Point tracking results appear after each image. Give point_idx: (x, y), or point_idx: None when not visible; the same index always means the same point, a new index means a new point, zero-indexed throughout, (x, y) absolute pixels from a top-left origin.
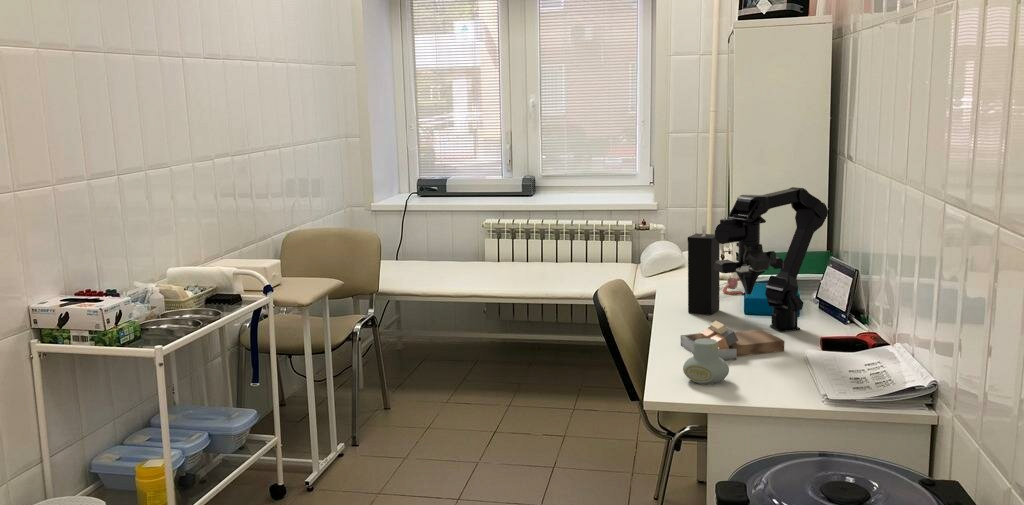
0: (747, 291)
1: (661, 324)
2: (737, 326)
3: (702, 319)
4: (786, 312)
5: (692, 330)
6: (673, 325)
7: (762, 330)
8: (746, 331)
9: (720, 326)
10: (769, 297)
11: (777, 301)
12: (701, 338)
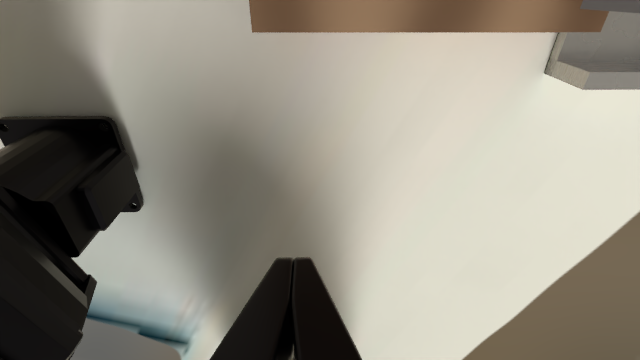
0: (323, 285)
1: (498, 325)
2: (273, 246)
3: None
4: (6, 176)
5: (459, 250)
6: (473, 309)
7: (259, 2)
8: (370, 19)
9: None
10: (62, 299)
11: (13, 234)
12: (616, 65)
